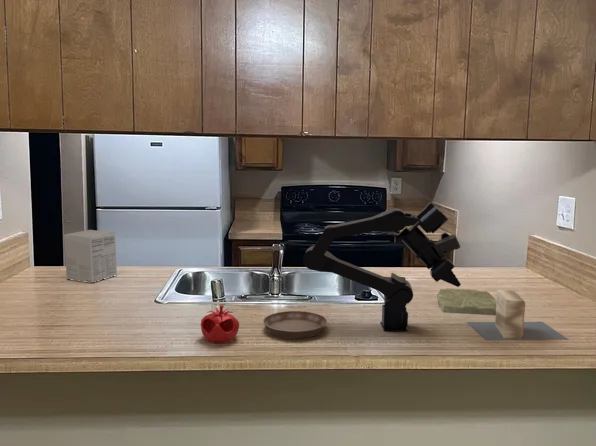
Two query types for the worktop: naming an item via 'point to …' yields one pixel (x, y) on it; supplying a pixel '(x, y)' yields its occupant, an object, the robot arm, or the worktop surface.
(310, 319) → the plant saucer
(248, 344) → the worktop surface
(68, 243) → the supplement box
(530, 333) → the rubber mat
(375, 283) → the robot arm
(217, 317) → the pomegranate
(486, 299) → the decorative tile
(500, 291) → the maple block
